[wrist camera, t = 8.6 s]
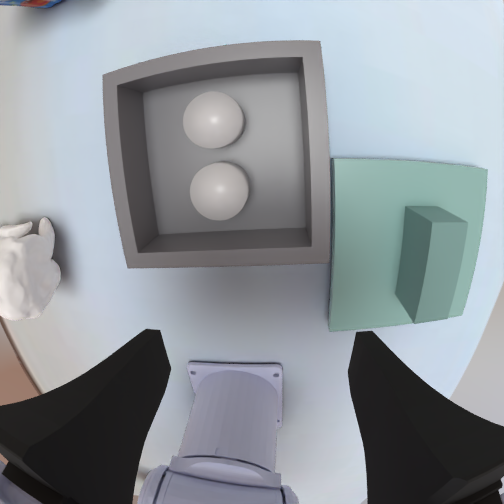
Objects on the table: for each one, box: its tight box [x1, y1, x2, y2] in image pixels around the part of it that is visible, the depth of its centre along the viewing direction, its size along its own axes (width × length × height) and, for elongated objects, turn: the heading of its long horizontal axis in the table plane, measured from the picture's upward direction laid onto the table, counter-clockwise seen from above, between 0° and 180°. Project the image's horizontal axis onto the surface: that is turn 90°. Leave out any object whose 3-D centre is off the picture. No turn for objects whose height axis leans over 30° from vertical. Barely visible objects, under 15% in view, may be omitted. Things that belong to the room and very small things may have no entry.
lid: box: [328, 158, 488, 332], centre depth 15 cm, size 11×11×5 cm
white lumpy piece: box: [0, 217, 61, 321], centre depth 16 cm, size 6×8×12 cm
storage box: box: [103, 40, 330, 268], centre depth 14 cm, size 11×11×4 cm
